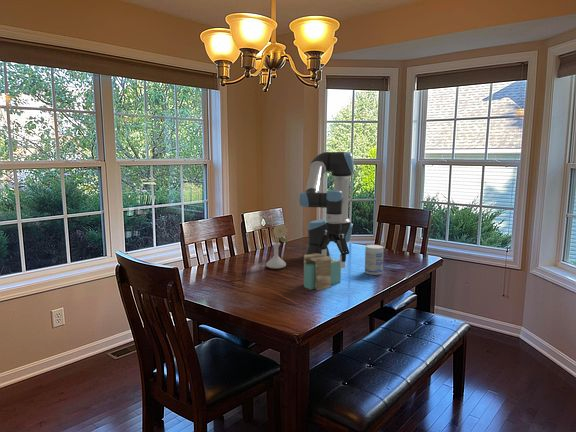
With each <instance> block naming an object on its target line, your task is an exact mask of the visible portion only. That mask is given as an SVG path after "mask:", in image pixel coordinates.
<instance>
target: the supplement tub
mask: <svg viewBox="0 0 576 432" xmlns="http://www.w3.org/2000/svg"><path fill="white" fill-rule="evenodd" d="M364 253H365V254H364V255H365V256H364V273H365V274H367V275H370V276H381V275H382V274H383V271H384V267H383V266H384V246H382V245H379V244H367V245H366V246H365V250H364Z"/></svg>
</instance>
